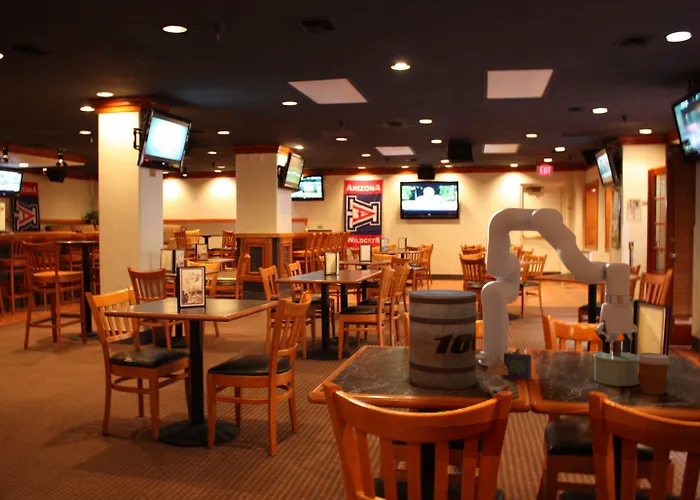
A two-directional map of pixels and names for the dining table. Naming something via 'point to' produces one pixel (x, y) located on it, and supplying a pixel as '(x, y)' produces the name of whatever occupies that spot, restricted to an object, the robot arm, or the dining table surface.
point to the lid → (616, 354)
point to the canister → (616, 372)
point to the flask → (518, 365)
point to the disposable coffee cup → (652, 372)
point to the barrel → (442, 339)
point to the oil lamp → (496, 377)
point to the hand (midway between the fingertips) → (616, 352)
